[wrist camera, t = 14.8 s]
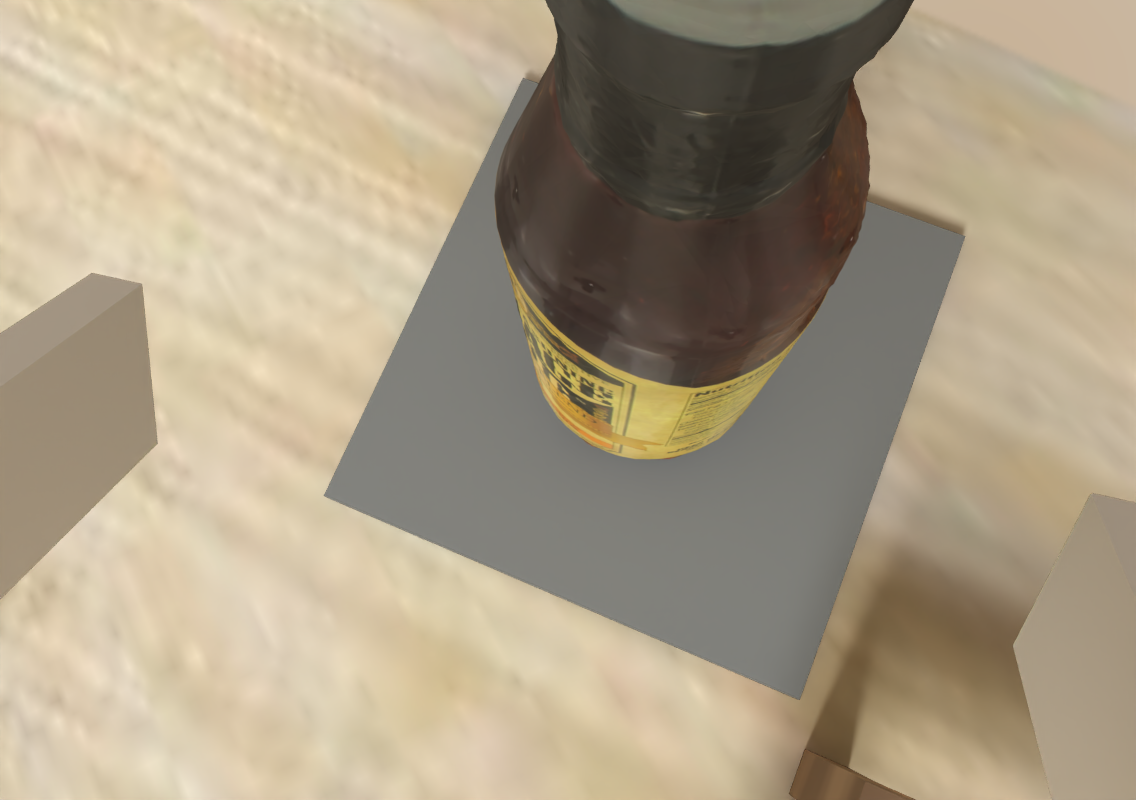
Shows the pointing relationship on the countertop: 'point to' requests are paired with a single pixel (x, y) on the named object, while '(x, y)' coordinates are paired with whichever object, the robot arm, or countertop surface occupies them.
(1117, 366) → the countertop surface
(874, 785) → the wooden square frame
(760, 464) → the slate mat
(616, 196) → the sauce bottle
